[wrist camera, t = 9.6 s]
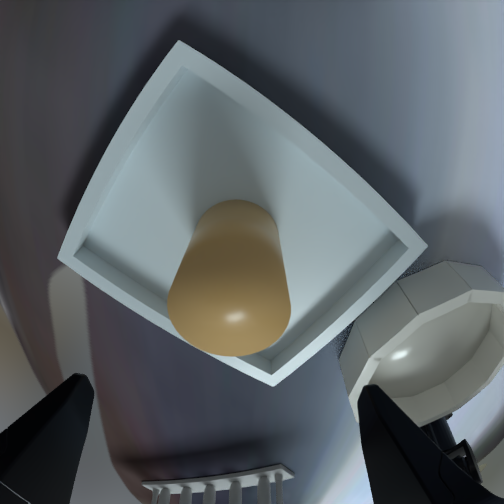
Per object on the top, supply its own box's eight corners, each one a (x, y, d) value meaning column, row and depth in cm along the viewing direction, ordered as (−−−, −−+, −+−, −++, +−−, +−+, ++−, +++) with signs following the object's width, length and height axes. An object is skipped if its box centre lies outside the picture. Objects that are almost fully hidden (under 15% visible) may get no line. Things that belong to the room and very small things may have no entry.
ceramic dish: (512, 317, 23) (532, 341, 20) (402, 413, 29) (412, 440, 25) (450, 222, 19) (481, 247, 15) (302, 365, 25) (308, 403, 21)
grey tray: (413, 231, 19) (428, 246, 17) (272, 365, 25) (273, 386, 23) (187, 47, 14) (178, 39, 12) (72, 243, 20) (57, 258, 18)
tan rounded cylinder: (296, 233, 19) (316, 302, 12) (245, 290, 20) (241, 371, 14) (227, 182, 17) (211, 231, 11) (179, 247, 19) (146, 318, 13)
